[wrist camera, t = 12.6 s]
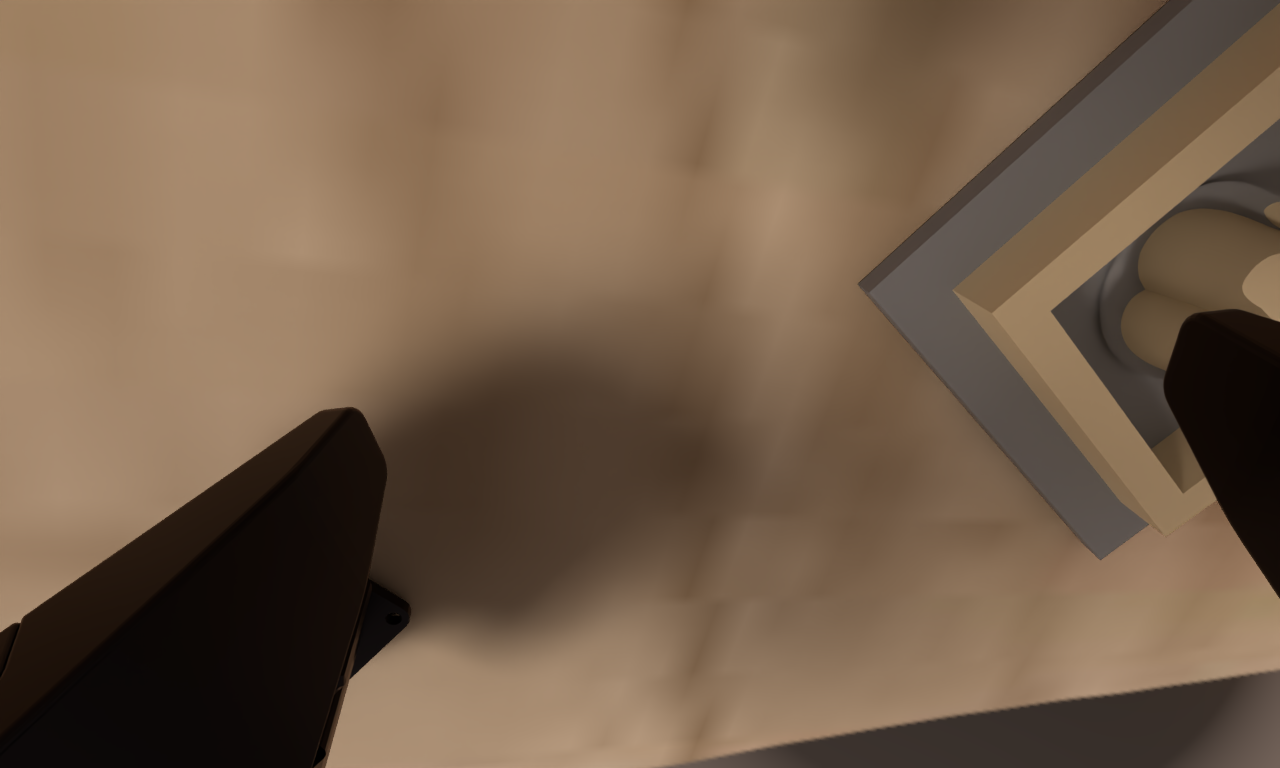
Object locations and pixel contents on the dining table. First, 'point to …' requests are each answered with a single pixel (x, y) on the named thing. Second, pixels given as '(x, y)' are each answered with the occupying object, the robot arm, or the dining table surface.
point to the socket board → (1089, 263)
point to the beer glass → (1193, 271)
